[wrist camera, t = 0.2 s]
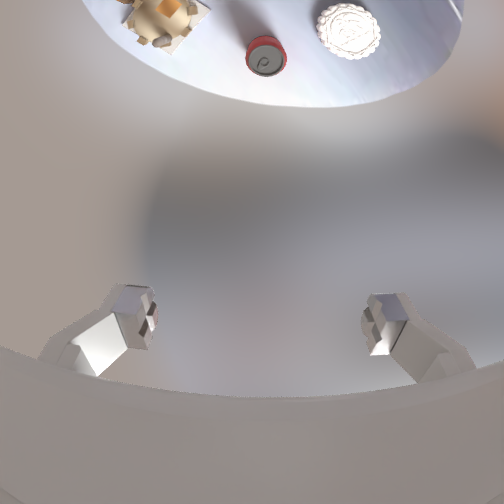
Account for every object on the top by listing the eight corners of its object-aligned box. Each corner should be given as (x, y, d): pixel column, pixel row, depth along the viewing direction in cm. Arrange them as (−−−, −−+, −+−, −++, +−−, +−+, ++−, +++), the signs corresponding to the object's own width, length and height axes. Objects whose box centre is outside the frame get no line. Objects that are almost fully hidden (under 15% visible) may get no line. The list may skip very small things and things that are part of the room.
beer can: (241, 53, 44) (236, 64, 36) (262, 29, 40) (262, 33, 32) (268, 71, 47) (270, 87, 39) (290, 48, 43) (296, 58, 35)
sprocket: (158, -24, 29) (143, -27, 24) (212, 8, 35) (204, 8, 30) (119, 28, 36) (100, 33, 31) (168, 58, 43) (156, 66, 38)
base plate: (159, -21, 30) (157, -21, 29) (211, 10, 36) (210, 10, 36) (123, 25, 37) (121, 25, 36) (172, 54, 43) (170, 55, 43)
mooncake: (354, -6, 32) (360, -7, 29) (385, 42, 39) (392, 45, 36) (303, 19, 38) (306, 20, 35) (338, 66, 45) (342, 70, 42)
